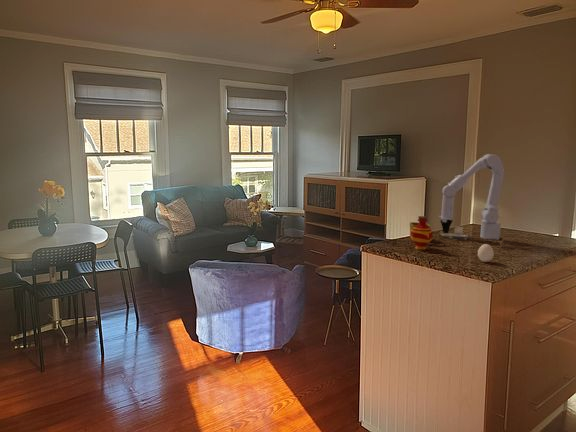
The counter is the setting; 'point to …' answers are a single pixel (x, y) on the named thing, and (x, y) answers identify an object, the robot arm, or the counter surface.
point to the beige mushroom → (458, 232)
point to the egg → (485, 253)
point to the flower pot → (413, 224)
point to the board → (461, 239)
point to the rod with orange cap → (452, 234)
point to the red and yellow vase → (421, 233)
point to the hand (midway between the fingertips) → (445, 233)
